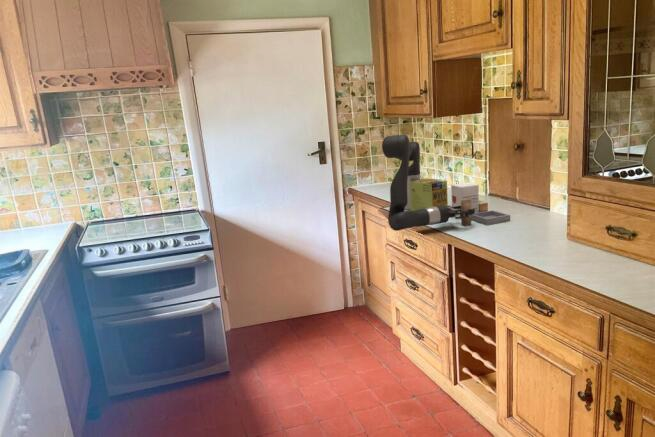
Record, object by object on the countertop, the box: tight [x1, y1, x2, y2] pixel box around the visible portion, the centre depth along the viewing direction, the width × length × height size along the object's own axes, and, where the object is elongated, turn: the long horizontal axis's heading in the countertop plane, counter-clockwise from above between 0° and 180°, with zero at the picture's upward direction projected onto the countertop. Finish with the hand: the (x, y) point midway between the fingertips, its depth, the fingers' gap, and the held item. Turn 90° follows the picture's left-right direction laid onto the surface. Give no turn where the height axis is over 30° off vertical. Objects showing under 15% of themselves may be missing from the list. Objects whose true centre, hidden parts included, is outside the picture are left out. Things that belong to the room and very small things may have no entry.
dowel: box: [460, 199, 472, 227], centre depth 221 cm, size 4×4×11 cm
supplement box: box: [450, 181, 480, 220], centre depth 235 cm, size 9×9×15 cm
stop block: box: [479, 200, 489, 213], centre depth 238 cm, size 10×4×6 cm, turn 19°
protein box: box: [409, 177, 449, 211], centre depth 249 cm, size 10×15×16 cm
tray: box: [471, 209, 511, 226], centre depth 226 cm, size 12×12×3 cm
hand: (468, 209), depth 221 cm, fingers open, 8 cm apart
